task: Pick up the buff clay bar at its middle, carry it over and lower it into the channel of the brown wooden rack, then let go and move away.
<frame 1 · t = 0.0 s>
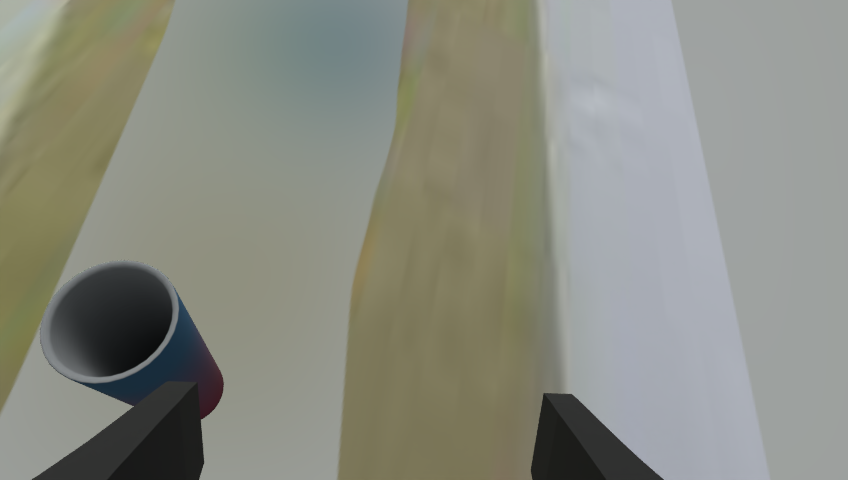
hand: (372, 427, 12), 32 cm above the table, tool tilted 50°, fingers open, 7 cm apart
cup: (189, 390, 44), on the table
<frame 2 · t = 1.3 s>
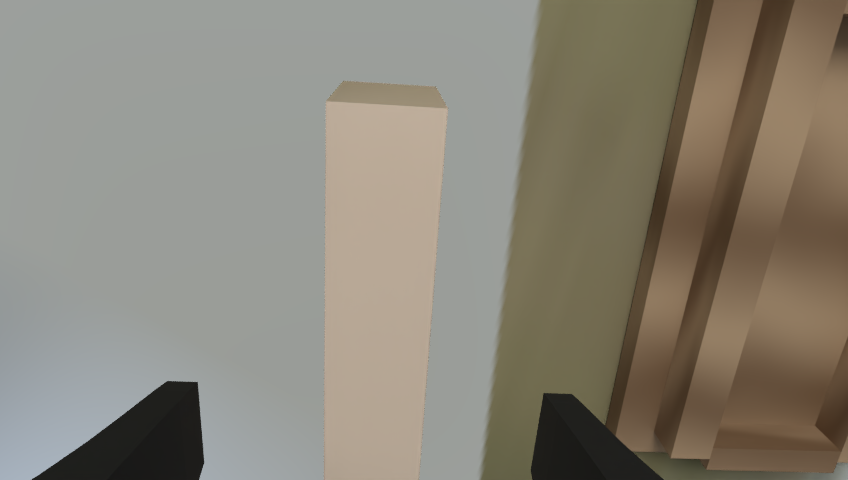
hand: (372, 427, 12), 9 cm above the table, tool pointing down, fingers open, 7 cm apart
clay bar: (382, 253, 21), on the table
rack: (793, 237, 21), on the table
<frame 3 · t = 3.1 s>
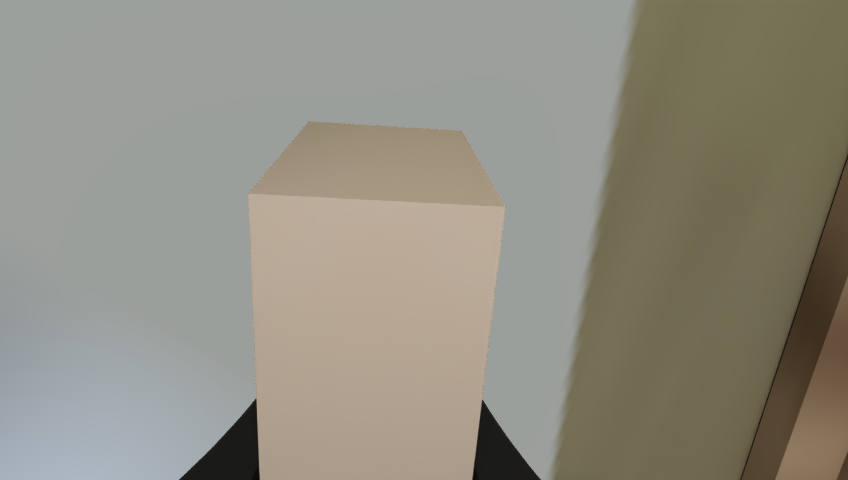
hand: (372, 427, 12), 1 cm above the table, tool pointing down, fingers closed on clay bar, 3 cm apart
clay bar: (374, 383, 14), on the table, touching gripper
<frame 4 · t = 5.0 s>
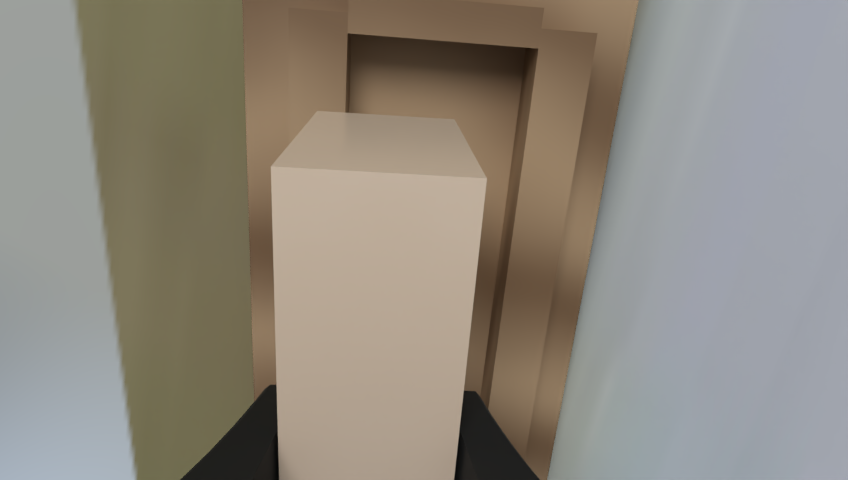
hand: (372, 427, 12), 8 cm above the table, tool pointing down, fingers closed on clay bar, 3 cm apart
clay bar: (375, 352, 15), point 6 cm above the table, touching gripper
rack: (419, 267, 20), on the table
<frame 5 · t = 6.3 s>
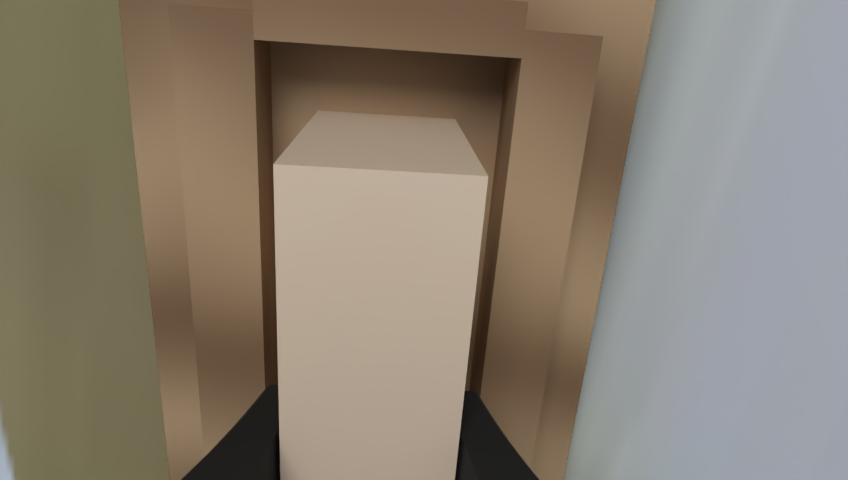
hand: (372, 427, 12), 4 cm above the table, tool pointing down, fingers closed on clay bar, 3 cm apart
clay bar: (376, 351, 15), point 1 cm above the table, touching gripper, rack
rack: (377, 333, 16), on the table
when the fingers open (4 cm above the table, at t = 6.7 s): clay bar stays where it is, resting on rack.
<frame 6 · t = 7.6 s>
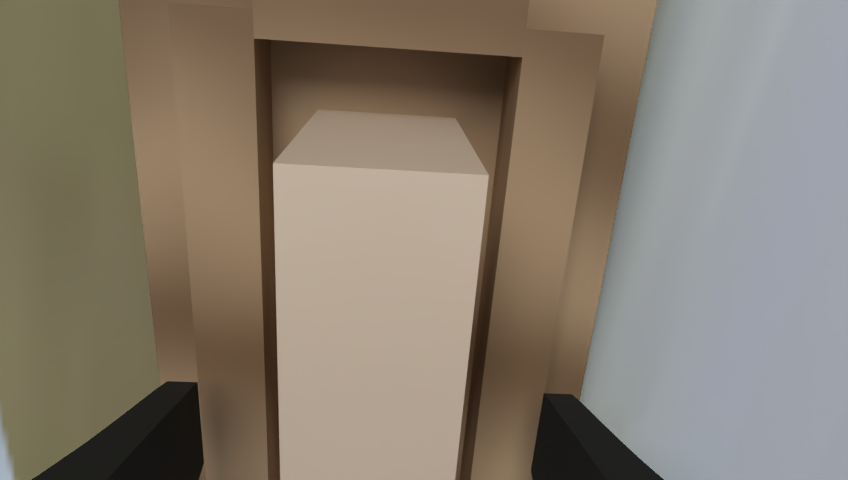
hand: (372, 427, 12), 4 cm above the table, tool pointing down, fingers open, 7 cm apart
clay bar: (376, 350, 15), point 1 cm above the table, touching rack
rack: (377, 333, 16), on the table
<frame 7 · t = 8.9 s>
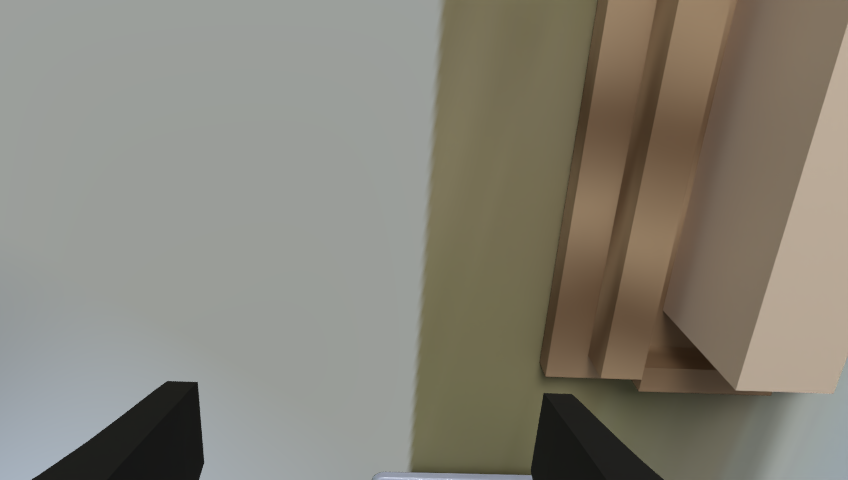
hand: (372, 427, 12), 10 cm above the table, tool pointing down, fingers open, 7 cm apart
clay bar: (743, 153, 20), point 1 cm above the table, touching rack
rack: (727, 148, 21), on the table
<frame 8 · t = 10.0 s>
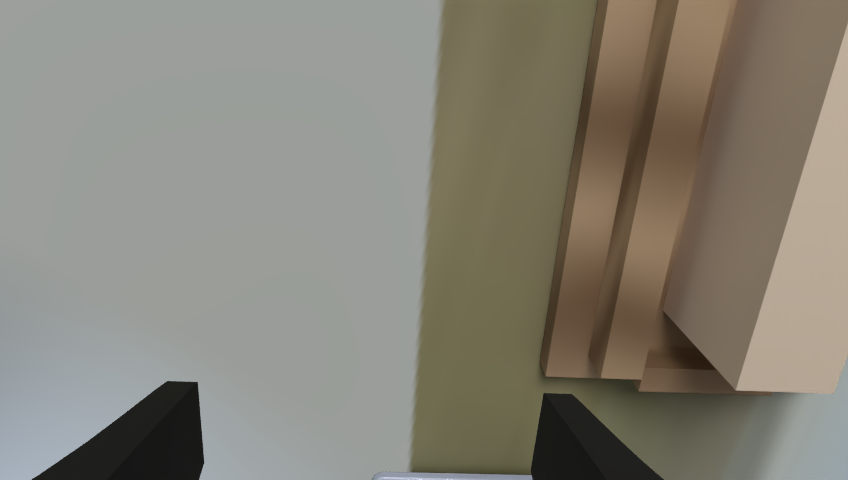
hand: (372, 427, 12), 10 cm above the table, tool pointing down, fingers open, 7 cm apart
clay bar: (743, 153, 20), point 1 cm above the table, touching rack
rack: (727, 148, 21), on the table
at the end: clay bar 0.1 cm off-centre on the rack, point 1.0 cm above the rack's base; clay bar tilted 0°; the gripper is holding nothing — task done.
